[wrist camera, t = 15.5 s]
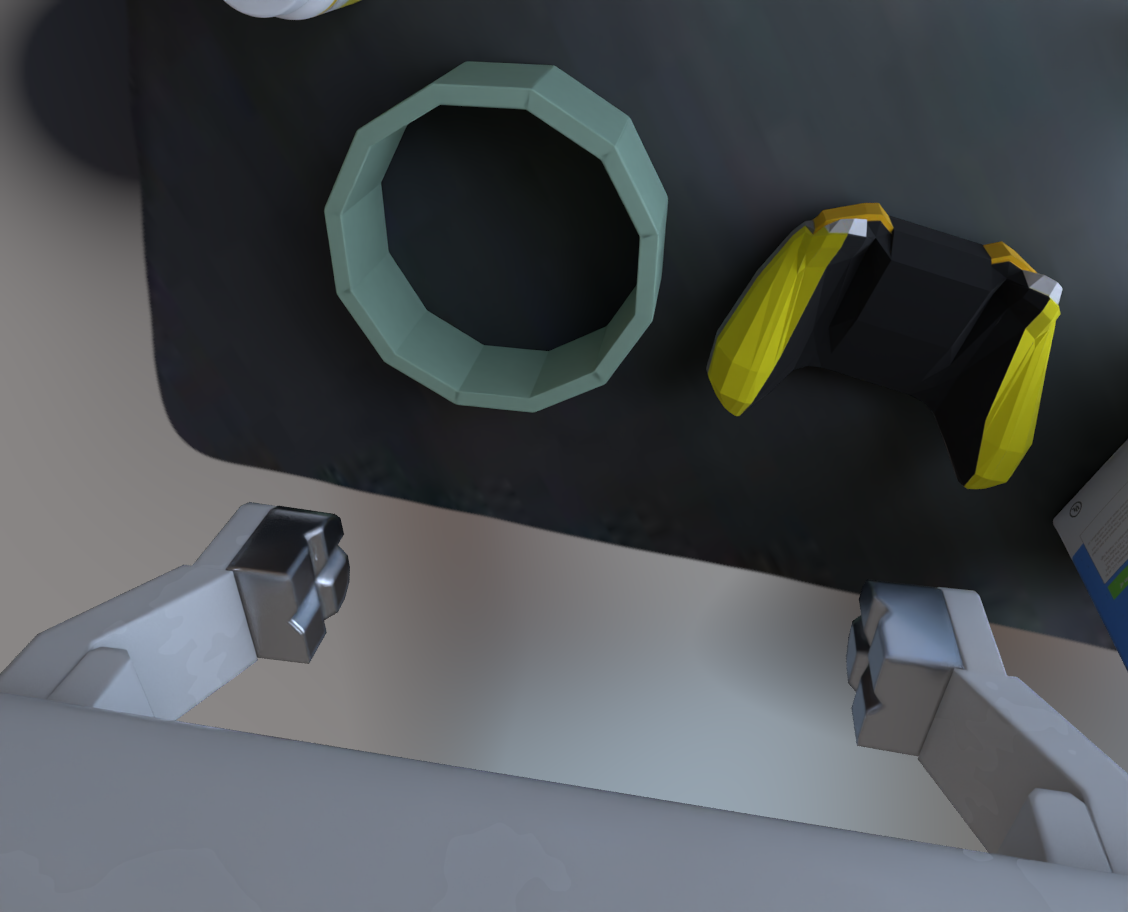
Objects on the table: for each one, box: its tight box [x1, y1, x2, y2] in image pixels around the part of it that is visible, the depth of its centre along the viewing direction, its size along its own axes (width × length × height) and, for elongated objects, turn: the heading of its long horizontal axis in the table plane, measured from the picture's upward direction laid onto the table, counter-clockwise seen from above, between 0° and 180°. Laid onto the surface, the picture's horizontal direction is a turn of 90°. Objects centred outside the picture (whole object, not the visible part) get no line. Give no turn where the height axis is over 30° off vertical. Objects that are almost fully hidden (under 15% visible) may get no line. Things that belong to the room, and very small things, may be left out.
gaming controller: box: [706, 203, 1063, 489], centre depth 38 cm, size 15×6×10 cm
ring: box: [324, 61, 668, 413], centre depth 39 cm, size 15×15×5 cm
